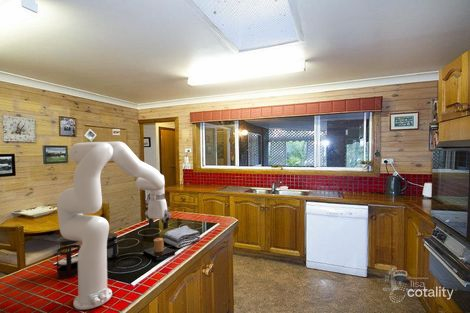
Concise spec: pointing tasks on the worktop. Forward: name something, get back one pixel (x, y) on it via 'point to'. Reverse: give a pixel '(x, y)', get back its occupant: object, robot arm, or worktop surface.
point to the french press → (67, 259)
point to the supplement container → (112, 246)
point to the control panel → (158, 253)
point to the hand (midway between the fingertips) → (158, 228)
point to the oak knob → (158, 245)
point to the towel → (181, 236)
